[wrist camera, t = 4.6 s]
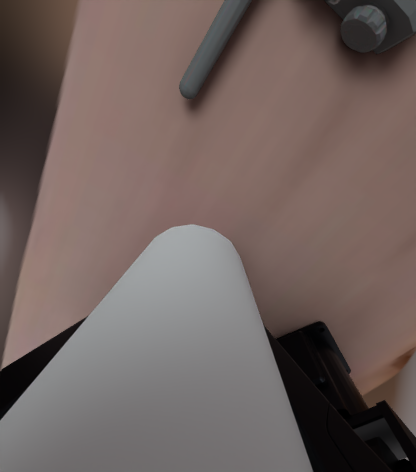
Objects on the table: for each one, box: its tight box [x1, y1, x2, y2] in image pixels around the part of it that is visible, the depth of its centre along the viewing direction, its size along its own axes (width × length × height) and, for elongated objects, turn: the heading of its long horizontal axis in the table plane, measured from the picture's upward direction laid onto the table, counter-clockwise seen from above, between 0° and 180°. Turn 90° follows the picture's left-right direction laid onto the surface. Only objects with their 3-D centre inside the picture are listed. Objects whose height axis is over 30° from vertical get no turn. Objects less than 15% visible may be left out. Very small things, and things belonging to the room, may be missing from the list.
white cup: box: [0, 224, 313, 472], centre depth 8 cm, size 7×7×10 cm
